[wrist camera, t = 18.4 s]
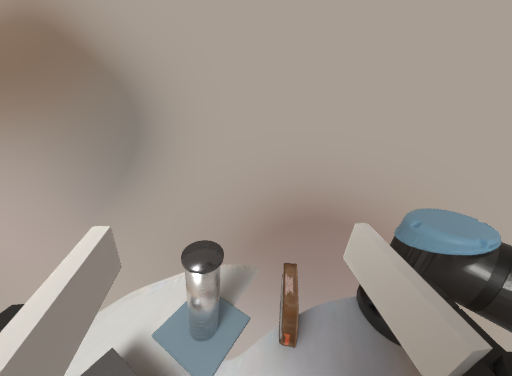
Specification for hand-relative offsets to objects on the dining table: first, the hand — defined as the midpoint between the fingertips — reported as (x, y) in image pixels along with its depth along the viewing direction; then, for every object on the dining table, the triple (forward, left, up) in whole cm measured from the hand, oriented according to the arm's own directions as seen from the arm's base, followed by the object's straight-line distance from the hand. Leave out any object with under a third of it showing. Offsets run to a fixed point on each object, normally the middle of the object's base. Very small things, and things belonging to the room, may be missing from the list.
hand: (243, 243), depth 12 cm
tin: (-19, -1, -32) cm, 38 cm away
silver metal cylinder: (-8, -12, -31) cm, 34 cm away
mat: (-8, -12, -32) cm, 35 cm away
